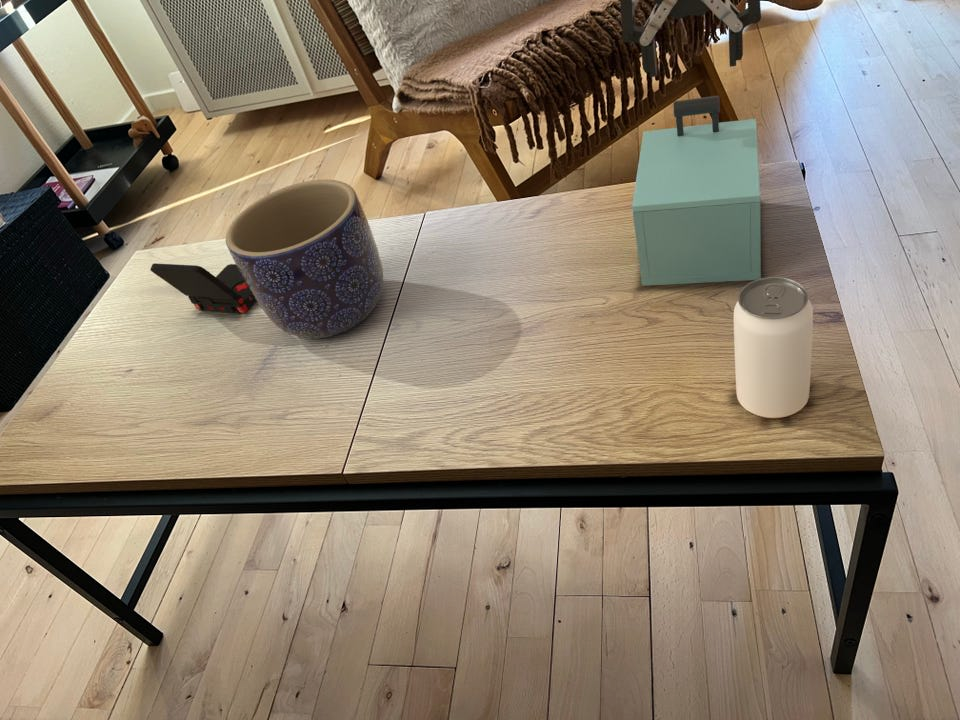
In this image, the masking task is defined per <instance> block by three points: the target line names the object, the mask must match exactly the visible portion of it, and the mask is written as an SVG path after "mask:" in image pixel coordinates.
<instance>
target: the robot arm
mask: <svg viewBox="0 0 960 720" xmlns="http://www.w3.org/2000/svg"><path fill="white" fill-rule="evenodd" d="M639 2H640V0H619V3H620V20H621V21H620V22H621V39H622V41H623V42H624V43H631V42H632V43H636V44H638V45H639V46H640V47H639V48H640V54H641V63H642V64H641V65H642V69H643V72H644V73H645V74H646V73H647V74H648V73H649V78H656V77H657V75H658V63H657V51H656V50H657V49H656V40H655V36H656V34H657V32H658V31H659V30H660V29H661V27H662V26H663V24H664V23H665V21H666V19H667V17H670V18H673V20H679V19H683V18H685V17H687V16H696V17H697V16H704V15H705V13H707V12H709V11H711V12H712V13H713V14H714V15H715V16H716V17H717V19H719V20H721V21H722V22H723V24H724V25H726V26H727V27H728V57H729V60H728V61H729V67H730V68H731V67H737V61H741V60H742V59H743V56H744V52H743V51H744V46H743V45H744V41H743V40H744V39H743V33H744V30H745V28H746V27H748V26H750V25H754V24H759V22H761V20H762V11H761V0H747V8H745V9H743V10H741V11H739V9H738V8H737V7H736V6H735V5H734V4H733V3H732V2H731V0H653V2H654V3H655V5H654V7H653V9H652V10H651V13H650V15H649V17H648V18H647V20H646V21H645V23H644V25H643V26H639V25H636V13H635V11H636V10H635V5H636V4H638V3H639Z"/></svg>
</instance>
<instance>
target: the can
mask: <svg viewBox="0 0 960 720" xmlns="http://www.w3.org/2000/svg"><path fill="white" fill-rule="evenodd" d="M807 290H808V289H806V287H805V286H804V285H803V284H802V283H800V282H799V281H797V280H795V279H791V278H788V277H782V276H767V277H761V279H757V280H751V281H749V282H748V283H747V284H745V285H744V286H743V287H742V288H741V290H740V291H739V293H738V295H737V301H736V304H735V306H734V308H733V342H734V344H733V345H734V369H735V370H734V372H735V375H734V376H735V390H736V391H735V392H736V393H735V394H736V398H737V401H738V403H739V404H740V405H741V406H742V408H744V410H746V411H748V412H749V413H750V414H752V415H754V416H757V417H759V418H764V419H782V418H787V417H789V416H792V415H794V414H796V413H798V412H800V411H801V410H802V409H803V408H805V406H806V405H807V403H808V401H809V399H810V389H811V374H812V373H811V371H812V353H813V352H812V351H813V334H814V333H813V331H814V308H813V305H812V302H811V301H810V299H809V297H810V296H809V292H808V291H807Z"/></svg>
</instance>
